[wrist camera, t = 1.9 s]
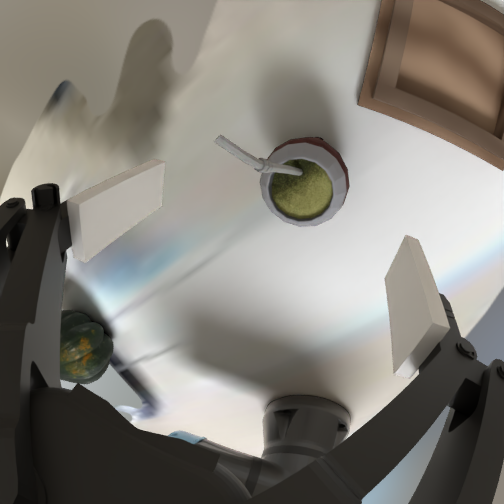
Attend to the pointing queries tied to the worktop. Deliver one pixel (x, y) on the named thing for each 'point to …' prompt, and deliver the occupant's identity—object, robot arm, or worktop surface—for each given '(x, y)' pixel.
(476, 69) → the holder board
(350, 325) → the worktop surface
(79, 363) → the squash
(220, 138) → the mate gourd
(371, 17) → the worktop surface
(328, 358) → the worktop surface
